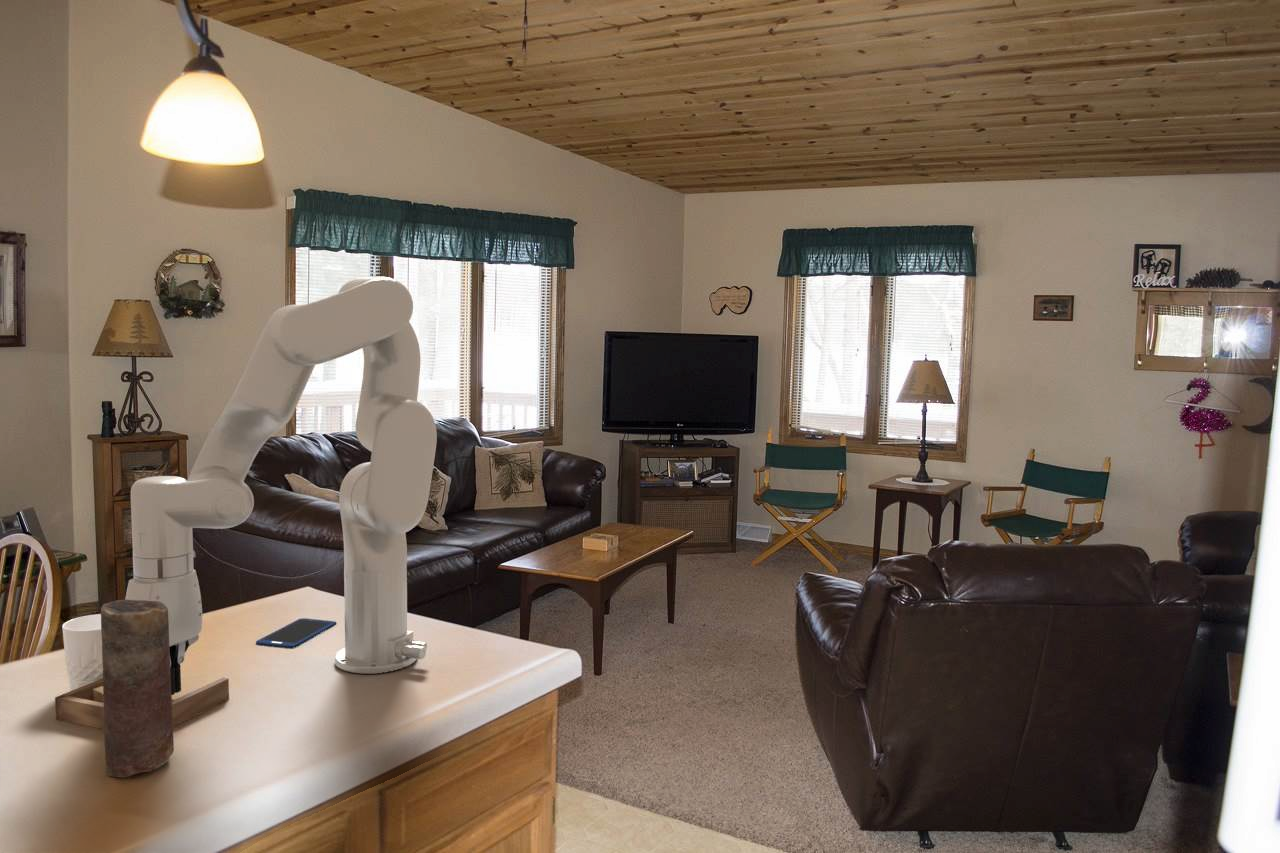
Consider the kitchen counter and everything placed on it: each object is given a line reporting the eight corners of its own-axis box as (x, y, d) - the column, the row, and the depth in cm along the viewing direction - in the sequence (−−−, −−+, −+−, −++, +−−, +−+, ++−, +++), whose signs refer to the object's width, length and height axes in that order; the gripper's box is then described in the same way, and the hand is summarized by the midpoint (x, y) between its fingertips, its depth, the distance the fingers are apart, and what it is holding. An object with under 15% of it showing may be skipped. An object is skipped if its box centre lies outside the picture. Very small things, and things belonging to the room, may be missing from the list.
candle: (123, 751, 120) (117, 594, 118) (184, 750, 120) (179, 594, 118) (93, 781, 112) (86, 614, 110) (159, 780, 113) (153, 613, 111)
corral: (229, 699, 137) (228, 678, 136) (149, 738, 124) (148, 716, 123) (141, 682, 142) (141, 663, 142) (56, 719, 129) (55, 697, 128)
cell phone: (253, 646, 159) (253, 642, 159) (301, 621, 173) (301, 617, 173) (293, 650, 158) (293, 646, 158) (338, 625, 171) (338, 621, 171)
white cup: (100, 702, 135) (97, 632, 134) (51, 696, 136) (48, 628, 135) (140, 681, 142) (137, 616, 141) (93, 676, 144) (91, 611, 143)
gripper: (184, 551, 143) (187, 671, 145) (97, 575, 129) (102, 707, 131) (224, 556, 140) (228, 678, 142) (140, 581, 126) (145, 716, 128)
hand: (167, 692), depth 136 cm, fingers closed
